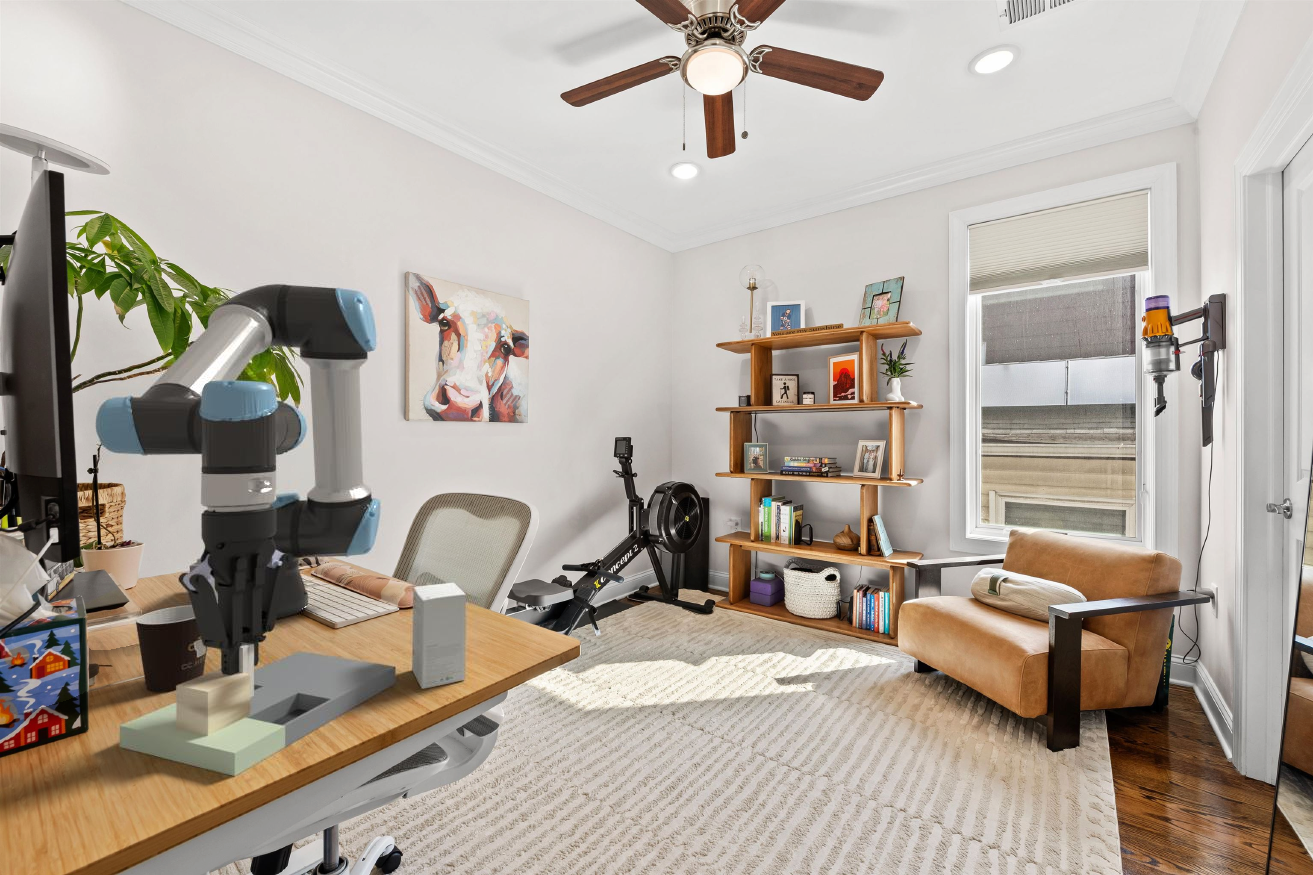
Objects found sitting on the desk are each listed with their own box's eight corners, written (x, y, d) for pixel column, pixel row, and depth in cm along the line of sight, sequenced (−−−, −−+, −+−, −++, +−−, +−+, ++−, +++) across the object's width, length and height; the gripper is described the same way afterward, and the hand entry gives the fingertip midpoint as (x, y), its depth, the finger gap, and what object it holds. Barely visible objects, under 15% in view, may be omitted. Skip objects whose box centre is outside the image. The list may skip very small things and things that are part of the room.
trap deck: (300, 666, 91) (300, 651, 91) (395, 683, 86) (395, 666, 86) (119, 746, 68) (119, 725, 68) (234, 776, 63) (234, 753, 63)
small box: (466, 680, 87) (467, 593, 87) (421, 690, 84) (421, 600, 83) (453, 661, 94) (454, 581, 94) (411, 669, 91) (412, 586, 90)
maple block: (219, 708, 72) (219, 668, 72) (250, 715, 71) (250, 674, 71) (176, 728, 68) (176, 685, 67) (208, 735, 66) (208, 691, 66)
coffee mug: (160, 700, 79) (160, 627, 79) (121, 689, 82) (121, 619, 82) (246, 668, 90) (246, 603, 90) (208, 659, 93) (209, 597, 93)
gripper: (208, 515, 65) (209, 727, 65) (309, 501, 77) (309, 679, 77) (160, 512, 67) (161, 716, 67) (265, 499, 79) (265, 671, 80)
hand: (240, 696), depth 72 cm, fingers closed
